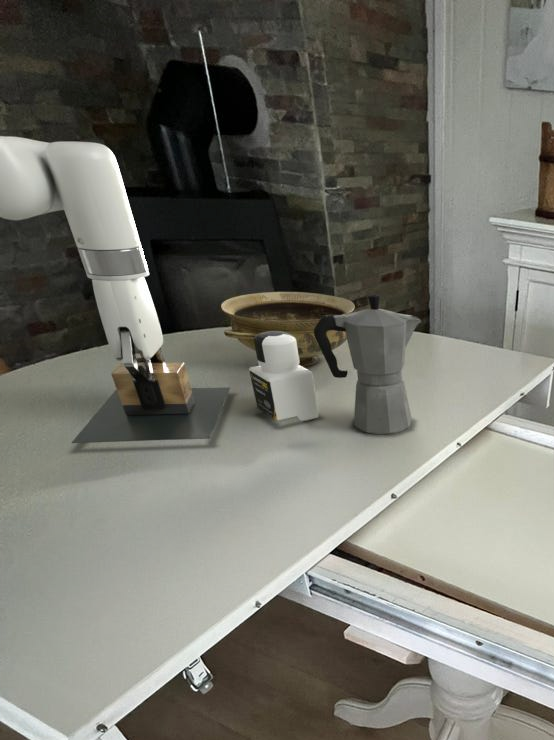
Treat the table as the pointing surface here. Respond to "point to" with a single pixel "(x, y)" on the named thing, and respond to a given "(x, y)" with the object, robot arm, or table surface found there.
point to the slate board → (155, 421)
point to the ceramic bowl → (286, 318)
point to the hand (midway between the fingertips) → (158, 400)
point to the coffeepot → (373, 364)
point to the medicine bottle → (282, 378)
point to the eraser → (171, 385)
